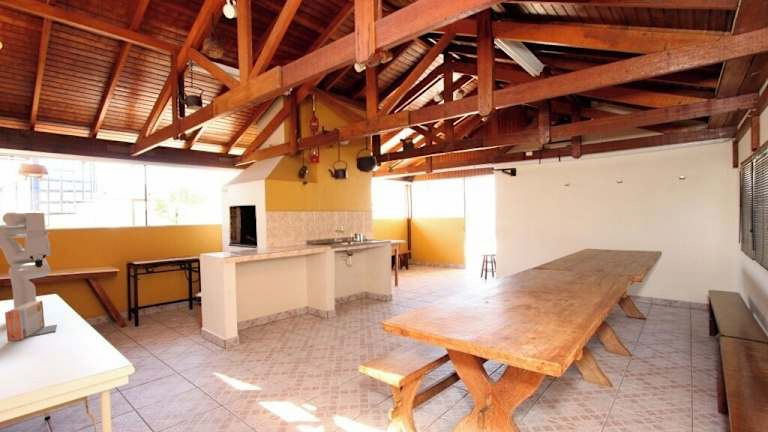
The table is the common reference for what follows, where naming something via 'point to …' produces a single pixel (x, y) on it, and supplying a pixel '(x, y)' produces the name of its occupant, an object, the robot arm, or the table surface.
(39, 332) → the mat
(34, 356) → the table surface
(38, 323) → the cracker box
